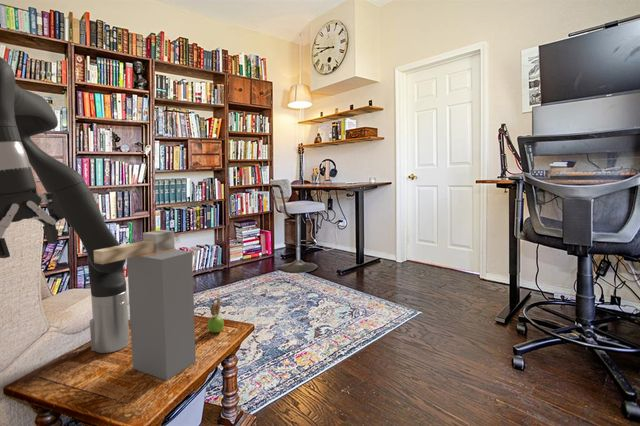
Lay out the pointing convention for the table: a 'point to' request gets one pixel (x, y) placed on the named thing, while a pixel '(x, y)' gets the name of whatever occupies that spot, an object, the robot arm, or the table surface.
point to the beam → (137, 247)
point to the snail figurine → (215, 318)
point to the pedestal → (162, 312)
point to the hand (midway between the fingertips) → (30, 249)
